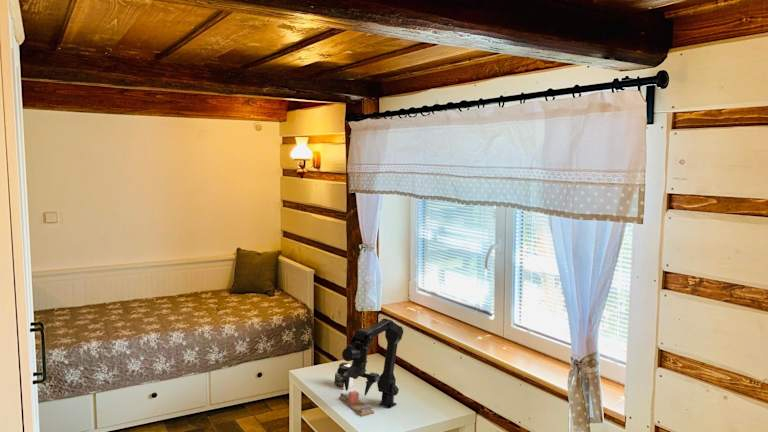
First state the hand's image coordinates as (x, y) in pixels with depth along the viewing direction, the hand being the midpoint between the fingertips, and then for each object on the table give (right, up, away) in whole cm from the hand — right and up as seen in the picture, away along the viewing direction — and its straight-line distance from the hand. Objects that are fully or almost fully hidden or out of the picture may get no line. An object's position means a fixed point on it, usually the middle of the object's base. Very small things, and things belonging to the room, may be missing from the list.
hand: (355, 393), depth 250 cm
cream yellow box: (-9, -10, +42) cm, 44 cm away
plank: (-1, -12, +19) cm, 23 cm away
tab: (-4, -11, +25) cm, 27 cm away
